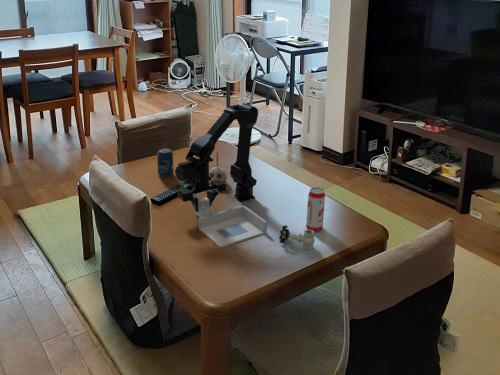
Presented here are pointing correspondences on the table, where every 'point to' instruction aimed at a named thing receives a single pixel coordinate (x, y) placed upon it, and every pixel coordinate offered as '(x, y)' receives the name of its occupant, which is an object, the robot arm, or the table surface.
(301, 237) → the valve
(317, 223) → the beer can
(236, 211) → the tray
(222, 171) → the decorative ornament
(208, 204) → the bracket
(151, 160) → the table surface
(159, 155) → the soda can
